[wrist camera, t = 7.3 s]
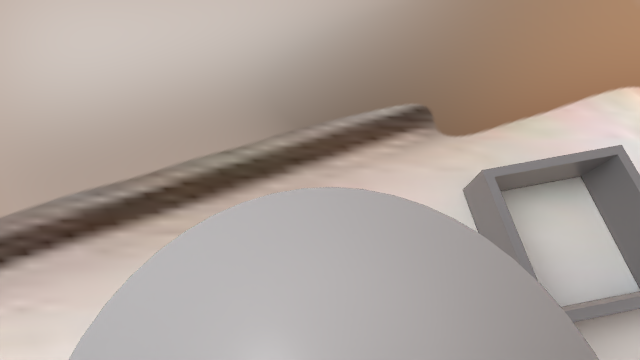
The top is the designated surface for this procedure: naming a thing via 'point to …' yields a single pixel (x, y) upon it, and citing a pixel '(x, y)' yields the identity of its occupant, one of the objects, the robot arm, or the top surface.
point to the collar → (607, 192)
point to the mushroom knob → (331, 289)
